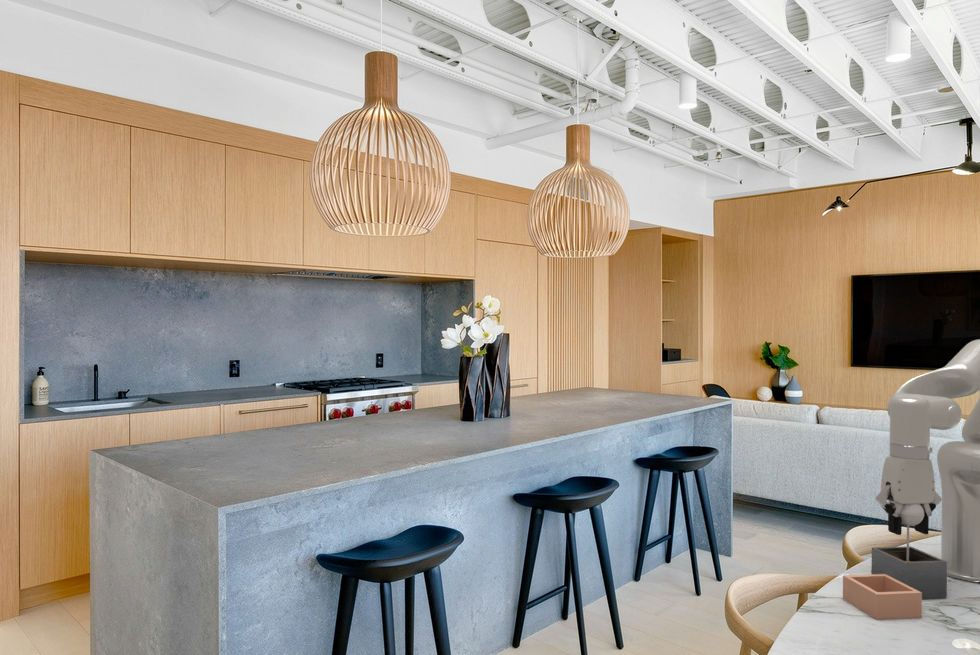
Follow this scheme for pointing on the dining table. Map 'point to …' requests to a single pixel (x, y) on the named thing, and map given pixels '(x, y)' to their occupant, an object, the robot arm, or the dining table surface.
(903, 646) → the dining table surface
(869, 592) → the tool holder
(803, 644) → the dining table surface
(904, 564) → the box
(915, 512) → the lollipop
